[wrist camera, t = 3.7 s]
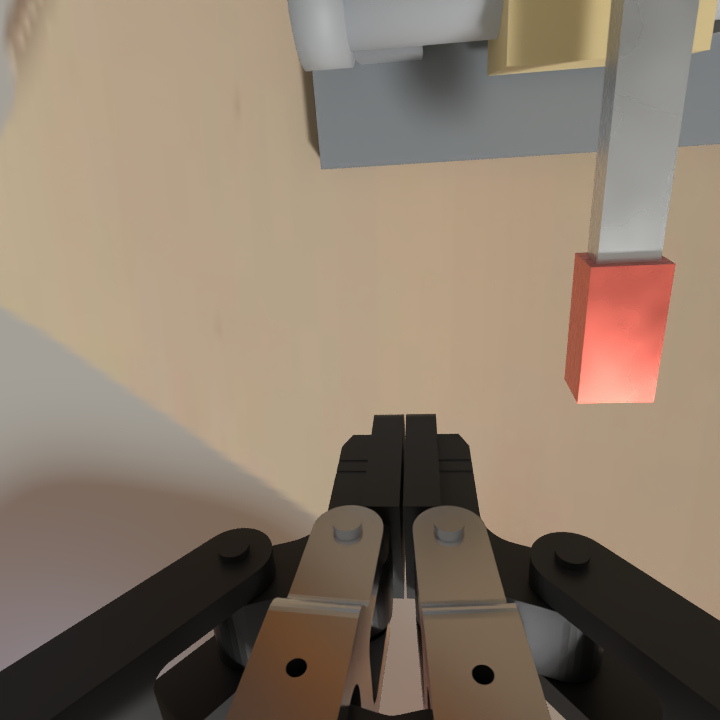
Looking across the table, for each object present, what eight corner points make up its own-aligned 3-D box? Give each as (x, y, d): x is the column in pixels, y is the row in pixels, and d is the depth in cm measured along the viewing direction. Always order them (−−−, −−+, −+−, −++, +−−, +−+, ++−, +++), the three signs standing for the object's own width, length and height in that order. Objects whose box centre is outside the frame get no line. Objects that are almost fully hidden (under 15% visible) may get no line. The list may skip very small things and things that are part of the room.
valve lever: (605, -132, 16) (630, -165, 14) (711, -146, 15) (751, -181, 14) (561, 379, 22) (575, 403, 20) (636, 377, 22) (657, 402, 20)
